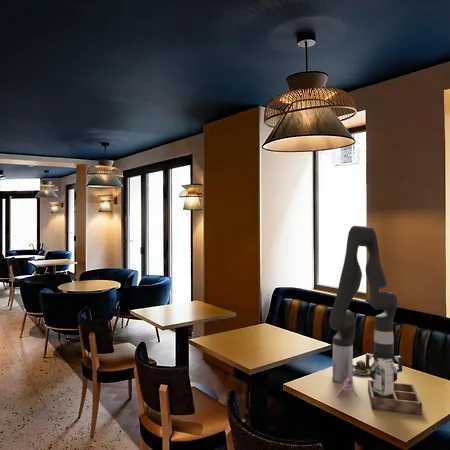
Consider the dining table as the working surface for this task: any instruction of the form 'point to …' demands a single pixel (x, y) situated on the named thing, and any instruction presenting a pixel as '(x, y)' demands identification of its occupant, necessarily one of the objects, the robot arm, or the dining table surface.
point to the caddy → (396, 399)
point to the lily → (347, 385)
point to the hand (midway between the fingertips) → (383, 380)
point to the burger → (360, 368)
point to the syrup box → (384, 377)
